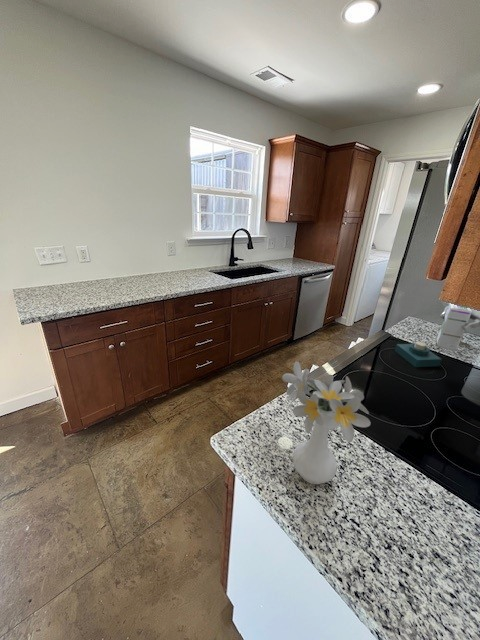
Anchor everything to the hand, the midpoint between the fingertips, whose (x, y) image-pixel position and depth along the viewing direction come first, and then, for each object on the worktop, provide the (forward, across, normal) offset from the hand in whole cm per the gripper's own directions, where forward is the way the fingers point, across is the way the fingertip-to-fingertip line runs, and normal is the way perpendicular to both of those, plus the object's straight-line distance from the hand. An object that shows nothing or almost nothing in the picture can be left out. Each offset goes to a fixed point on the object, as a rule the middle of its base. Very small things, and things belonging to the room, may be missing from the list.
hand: (452, 323), depth 89 cm
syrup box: (+6, 0, +7) cm, 9 cm away
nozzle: (+11, -9, +10) cm, 17 cm away
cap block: (+14, -9, +14) cm, 21 cm away
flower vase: (+56, +34, -28) cm, 72 cm away
